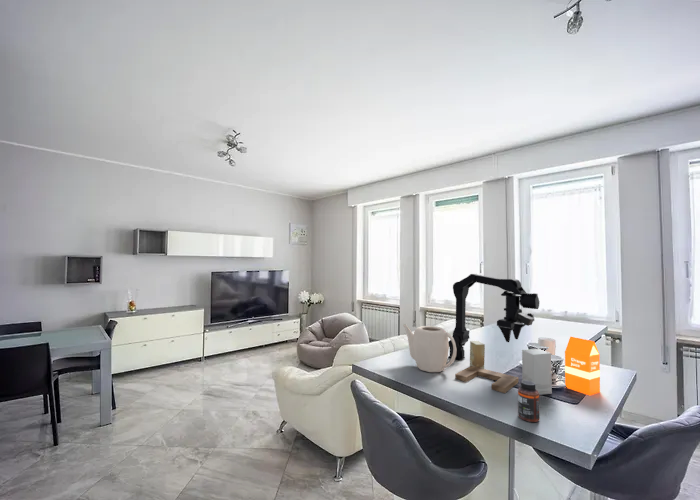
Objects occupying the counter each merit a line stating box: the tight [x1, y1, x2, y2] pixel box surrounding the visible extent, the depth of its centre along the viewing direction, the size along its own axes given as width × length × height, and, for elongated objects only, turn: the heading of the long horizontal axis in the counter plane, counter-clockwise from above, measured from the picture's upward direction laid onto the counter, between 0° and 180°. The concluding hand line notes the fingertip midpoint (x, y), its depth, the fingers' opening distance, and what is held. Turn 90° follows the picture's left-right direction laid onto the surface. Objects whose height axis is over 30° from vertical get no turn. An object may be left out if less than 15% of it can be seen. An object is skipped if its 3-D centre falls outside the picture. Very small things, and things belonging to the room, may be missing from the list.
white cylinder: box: [537, 337, 557, 356], centre depth 144 cm, size 7×7×15 cm
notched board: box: [454, 365, 520, 394], centre depth 131 cm, size 20×16×2 cm
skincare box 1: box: [469, 340, 486, 369], centre depth 146 cm, size 6×4×12 cm
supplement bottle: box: [517, 380, 540, 423], centre depth 99 cm, size 6×6×11 cm
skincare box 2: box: [521, 348, 553, 396], centre depth 121 cm, size 8×7×16 cm
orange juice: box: [564, 336, 601, 397], centre depth 124 cm, size 8×9×20 cm
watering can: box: [403, 323, 457, 373], centre depth 145 cm, size 16×27×19 cm, turn 51°
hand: (512, 340), depth 143 cm, fingers open, 9 cm apart
